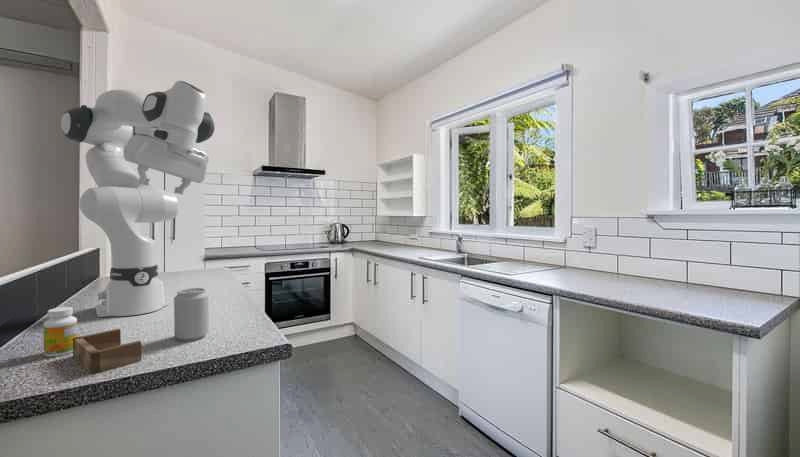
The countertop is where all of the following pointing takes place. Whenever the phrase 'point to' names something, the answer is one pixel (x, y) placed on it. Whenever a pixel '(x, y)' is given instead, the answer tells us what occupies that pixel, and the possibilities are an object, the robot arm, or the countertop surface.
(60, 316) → the supplement bottle
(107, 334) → the corral
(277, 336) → the countertop surface
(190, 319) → the can
